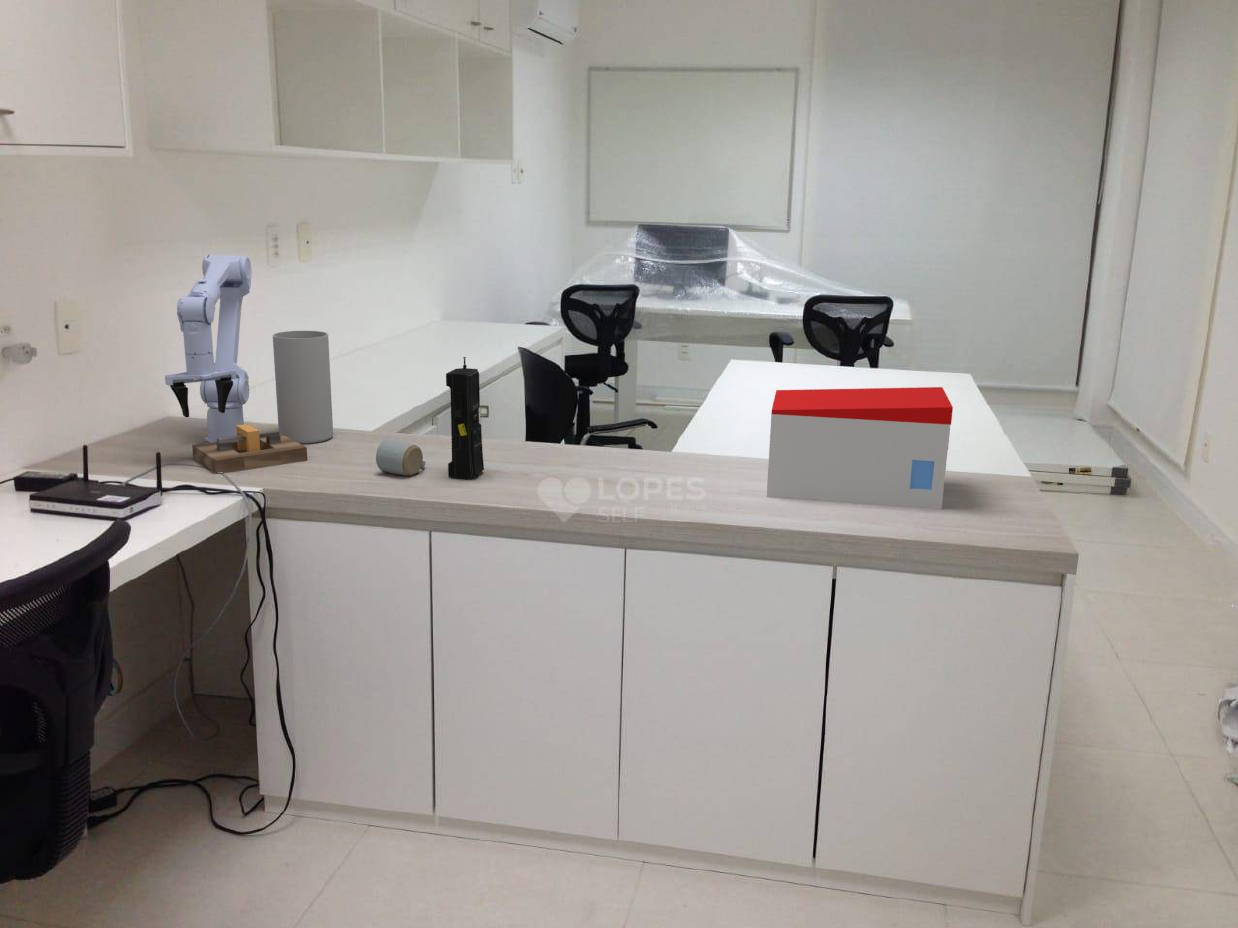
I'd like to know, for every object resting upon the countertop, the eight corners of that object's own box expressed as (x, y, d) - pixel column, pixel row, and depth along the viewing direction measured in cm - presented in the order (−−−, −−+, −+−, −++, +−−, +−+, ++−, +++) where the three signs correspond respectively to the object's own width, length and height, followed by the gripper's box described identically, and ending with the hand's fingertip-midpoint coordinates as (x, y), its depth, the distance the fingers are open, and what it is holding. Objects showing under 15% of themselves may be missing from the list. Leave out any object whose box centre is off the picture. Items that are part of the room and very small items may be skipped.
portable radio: (473, 481, 230) (471, 364, 224) (446, 479, 231) (443, 362, 225) (485, 471, 238) (483, 357, 231) (458, 469, 239) (456, 356, 232)
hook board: (193, 457, 244) (190, 433, 243) (280, 445, 256) (279, 422, 255) (216, 474, 232) (214, 448, 231) (307, 460, 244) (306, 436, 242)
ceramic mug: (405, 480, 231) (404, 445, 229) (375, 474, 234) (374, 441, 232) (434, 469, 239) (434, 436, 237) (405, 464, 243) (404, 432, 241)
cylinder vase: (268, 441, 260) (261, 336, 253) (302, 430, 271) (296, 329, 264) (311, 447, 255) (305, 340, 249) (343, 435, 266) (339, 333, 260)
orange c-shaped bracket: (237, 449, 246) (235, 425, 245) (248, 447, 248) (247, 424, 246) (249, 456, 240) (247, 431, 239) (260, 454, 242) (258, 430, 240)
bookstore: (943, 509, 218) (954, 407, 213) (766, 497, 224) (772, 397, 219) (934, 481, 238) (943, 387, 232) (771, 470, 244) (776, 378, 238)
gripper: (169, 358, 229) (175, 421, 232) (239, 352, 237) (243, 413, 241) (160, 353, 234) (165, 415, 238) (228, 347, 243) (232, 407, 246)
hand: (204, 414), depth 240 cm, fingers open, 7 cm apart
